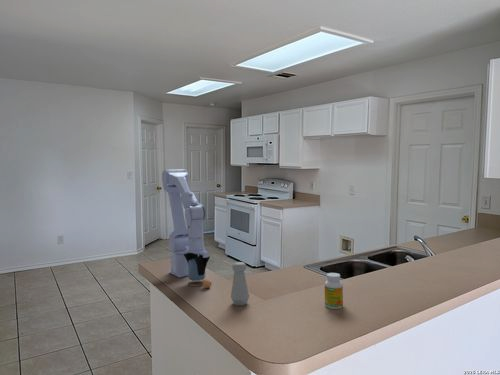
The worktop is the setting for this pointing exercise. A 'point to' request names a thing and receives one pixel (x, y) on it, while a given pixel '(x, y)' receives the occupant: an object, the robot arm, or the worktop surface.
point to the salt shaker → (239, 285)
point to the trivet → (196, 283)
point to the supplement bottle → (333, 291)
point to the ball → (207, 283)
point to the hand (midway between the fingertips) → (197, 273)
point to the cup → (194, 271)
